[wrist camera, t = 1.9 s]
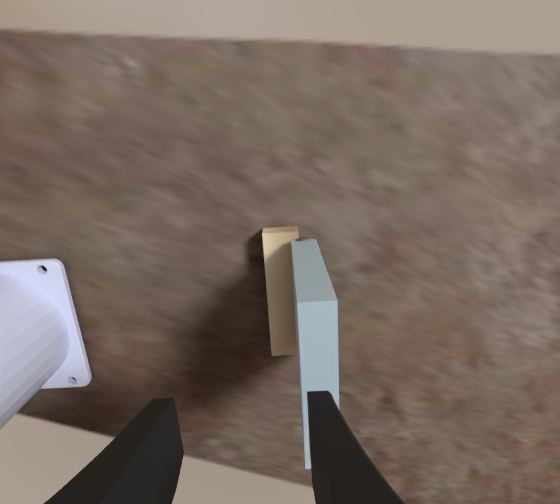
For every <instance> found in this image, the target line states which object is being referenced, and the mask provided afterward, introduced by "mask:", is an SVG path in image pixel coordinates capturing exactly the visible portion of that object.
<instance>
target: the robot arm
mask: <svg viewBox="0 0 560 504" xmlns="http://www.w3.org/2000/svg"><path fill="white" fill-rule="evenodd" d="M42 266H44V267H46V269H47V272H45V271H44V270H43V269H42ZM72 377H74V378H76V380H74V379H73V378H72ZM91 379H92V375H91V371H90V367H89V363H88V359H87V355H86V351H85V347H84V343H83V340H82V336H81V332H80V328H79V324H78V320H77V316H76V312H75V308H74V304H73V300H72V296H71V292H70V288H69V284H68V280H67V276H66V272H65V268H64V265H63V263H62V262H61V261H59V260H58V259H35V260H18V261H1V262H0V429H1V428H2V427H3V426H4V425H5V424H6V423H7V422H8V421H9V420H10V419H11V418H12V417H13V416H14V415H15V414H16V413H17V412H18V411H19V410H20V408H21V407H22V406H23V405H24V404H25V403H26V402H27V401H28V400H29V399H30V398H31V397H32V396H33V395H34V394H35V393H36V392H37V391H38V390H39V389H47V388H67V387H84V386H87V385H88V384H89V383H90V381H91ZM307 403H308V425H309V447H310V459H311V472H312V484H313V490H314V496H315V502H316V504H405V503H404V502H403V501H402V500H401V499H400V497H399V496H398V495H397V494H396V493H395V491H394V490H393V489H392V488H391V486H390V485H389V484H388V483H387V481H386V480H385V479H384V477H383V476H382V475H381V473H380V472H379V471H378V469H377V468H376V467H375V465H374V464H373V463H372V461H371V460H370V458H369V457H368V456H367V454H366V453H365V451H364V450H363V448H362V447H361V445H360V444H359V442H358V441H357V439H356V438H355V436H354V435H353V433H352V431H351V430H350V428H349V427H348V425H347V423H346V421H345V420H344V418H343V416H342V414H341V412H340V411H339V409H338V407H337V405H336V403H335V400H334V398H333V396H332V394H331V393H330V392H329V391H328V390H326V391H307ZM183 454H184V452H183V446H182V440H181V435H180V429H179V423H178V418H177V412H176V406H175V401H174V398H161V399H153V400H152V401H151V402H150V403H149V404H148V405H147V406H146V407H145V408H144V409H143V410H142V411H141V412H140V413H139V414H138V415H137V416H136V417H135V418H134V419H133V420H132V421H131V422H130V423H129V424H128V425H127V426H126V427H125V428H124V429H123V431H122V432H121V433H120V434H119V435H118V436H117V437H116V438H115V439H114V440H113V441H112V442H111V443H110V444H109V445H108V446H107V447H106V448H105V449H104V450H103V451H102V452H101V453H100V454H99V455H98V456H97V457H95V458H94V460H92V461H91V462H90V463H89V464H88V465H87V466H86V467H85V468H83V469H82V470H81V471H80V472H79V473H78V474H77V475H76V476H75V477H74V478H73V479H72V480H70V481H69V482H68V483H67V484H66V485H65V486H64V487H63V488H62V489H61V490H59V491H58V492H57V493H56V494H55V495H54V496H52V497H51V498H50V499H49V500H48V501H46V502H45V503H44V504H172V501H173V498H174V494H175V491H176V487H177V483H178V478H179V474H180V468H181V464H182V459H183Z"/></svg>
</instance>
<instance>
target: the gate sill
mask: <svg viewBox="0 0 560 504" xmlns="http://www.w3.org/2000/svg"><path fill="white" fill-rule="evenodd" d="M262 237H263V250H264V263H265V276H266V288H267V301H268V314H269V327H270V340H271V353H272V356H282V355H297V342H296V324H295V305H294V287H293V268H292V249H291V240H295V239H297V238H299V231H298V226H286V227H269V228H263V232H262Z"/></svg>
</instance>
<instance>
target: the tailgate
mask: <svg viewBox="0 0 560 504" xmlns="http://www.w3.org/2000/svg"><path fill="white" fill-rule="evenodd" d="M291 249H292V268H293V287H294V305H295V324H296V342H297V359H298V373H299V386H300V400H301V413H302V427H303V440H304V453H305V467H306V469H311V459H310V447H309V425H308V403H307V391H326V390H328V391H329V392H330V393H331V394H332V396H333V398H334V400H335V403H336V405H337V407H338V409H339V374H338V308H337V298H336V295H335V292H334V289H333V287H332V284H331V281H330V278H329V275H328V272H327V269H326V267H325V264H324V261H323V258H322V255H321V252H320V249H319V247H318V244H317V241H316V239H311V238H306V237H303V238H297V239H295V240H291Z"/></svg>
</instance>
